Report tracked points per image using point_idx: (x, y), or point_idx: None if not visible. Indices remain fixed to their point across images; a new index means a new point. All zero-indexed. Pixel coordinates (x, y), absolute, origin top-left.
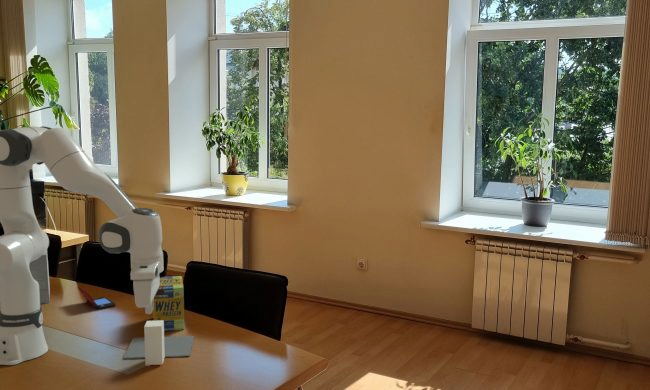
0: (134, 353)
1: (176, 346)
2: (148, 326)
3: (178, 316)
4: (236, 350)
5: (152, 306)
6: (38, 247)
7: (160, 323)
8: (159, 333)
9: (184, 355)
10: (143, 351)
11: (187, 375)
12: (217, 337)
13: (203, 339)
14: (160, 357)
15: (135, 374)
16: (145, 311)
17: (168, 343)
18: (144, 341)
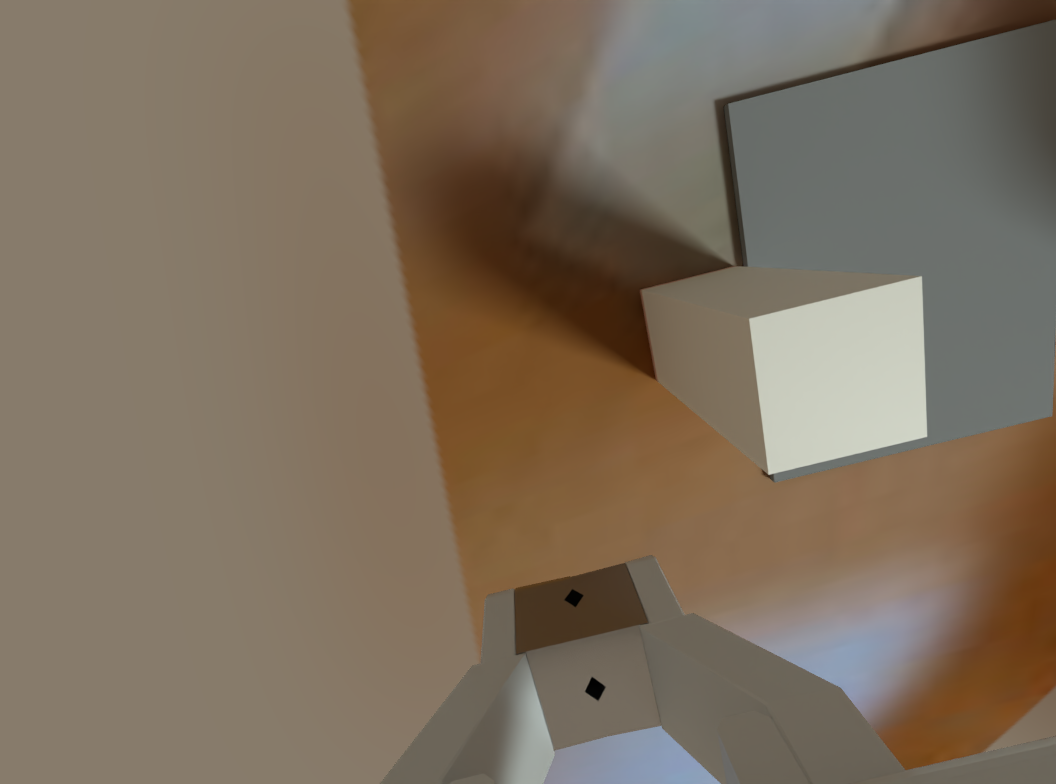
0: (796, 151)
1: None
2: (759, 357)
3: None
4: (848, 662)
5: (620, 725)
6: None
7: (840, 440)
8: (735, 431)
9: None
10: (826, 198)
11: (553, 540)
12: (1025, 535)
13: (1004, 474)
14: (668, 382)
15: (528, 278)
16: (486, 616)
17: (945, 309)
18: (992, 134)
